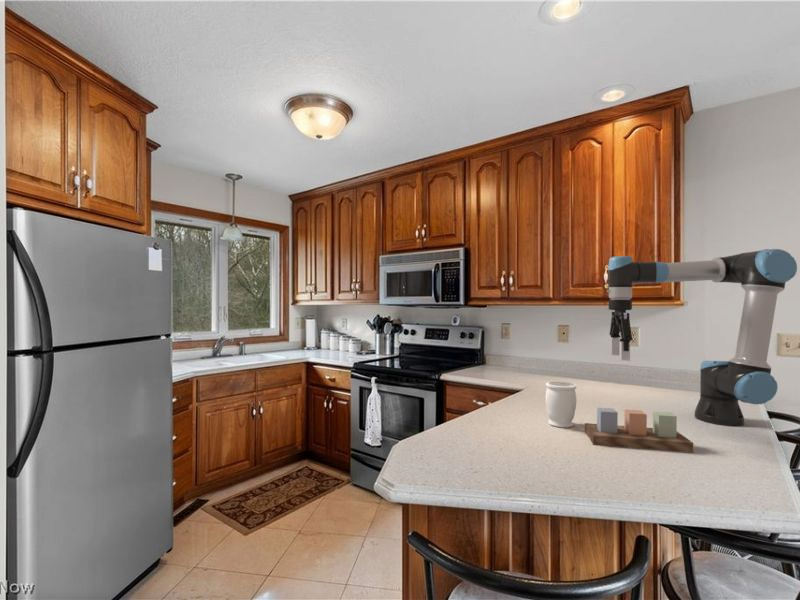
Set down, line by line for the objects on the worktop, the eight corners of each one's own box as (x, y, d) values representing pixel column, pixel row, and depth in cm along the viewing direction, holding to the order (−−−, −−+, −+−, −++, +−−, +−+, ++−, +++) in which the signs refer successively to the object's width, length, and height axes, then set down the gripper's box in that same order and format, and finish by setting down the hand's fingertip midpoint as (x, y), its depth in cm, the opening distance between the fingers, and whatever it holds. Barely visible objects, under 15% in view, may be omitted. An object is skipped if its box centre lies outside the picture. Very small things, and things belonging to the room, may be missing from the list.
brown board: (674, 438, 137) (674, 429, 137) (693, 452, 125) (693, 442, 125) (584, 431, 144) (584, 423, 144) (593, 444, 131) (593, 435, 131)
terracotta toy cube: (640, 432, 136) (641, 410, 136) (646, 437, 131) (646, 414, 131) (624, 431, 137) (624, 409, 137) (629, 436, 132) (629, 413, 132)
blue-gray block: (612, 430, 138) (613, 408, 138) (617, 435, 133) (617, 412, 133) (596, 429, 139) (597, 407, 139) (600, 434, 134) (600, 411, 134)
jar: (543, 426, 149) (543, 384, 149) (547, 418, 159) (547, 380, 158) (574, 430, 144) (575, 388, 144) (577, 423, 154) (577, 383, 154)
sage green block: (669, 435, 134) (670, 412, 134) (676, 440, 129) (676, 416, 129) (652, 433, 135) (653, 411, 135) (658, 438, 130) (658, 415, 130)
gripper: (601, 299, 162) (601, 352, 162) (617, 299, 138) (617, 362, 138) (622, 299, 160) (622, 353, 160) (642, 299, 136) (642, 363, 136)
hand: (620, 357), depth 149 cm, fingers open, 13 cm apart
